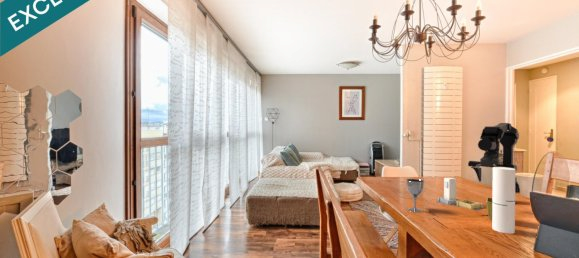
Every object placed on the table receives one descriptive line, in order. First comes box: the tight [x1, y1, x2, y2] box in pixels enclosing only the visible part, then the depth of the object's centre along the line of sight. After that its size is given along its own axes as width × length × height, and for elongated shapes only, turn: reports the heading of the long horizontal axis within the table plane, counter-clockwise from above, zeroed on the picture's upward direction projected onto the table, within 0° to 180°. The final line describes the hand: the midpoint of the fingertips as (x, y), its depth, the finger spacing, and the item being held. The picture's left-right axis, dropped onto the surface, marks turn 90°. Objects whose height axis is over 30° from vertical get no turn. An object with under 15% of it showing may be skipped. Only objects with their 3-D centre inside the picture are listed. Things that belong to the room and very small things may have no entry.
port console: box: [435, 196, 487, 211], centre depth 142 cm, size 12×20×3 cm, turn 41°
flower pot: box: [485, 196, 492, 222], centre depth 119 cm, size 9×9×9 cm
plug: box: [443, 177, 457, 200], centre depth 145 cm, size 4×4×13 cm
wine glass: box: [406, 178, 425, 213], centre depth 134 cm, size 8×8×15 cm
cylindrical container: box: [491, 167, 516, 235], centre depth 108 cm, size 7×7×25 cm
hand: (490, 183), depth 133 cm, fingers open, 9 cm apart
